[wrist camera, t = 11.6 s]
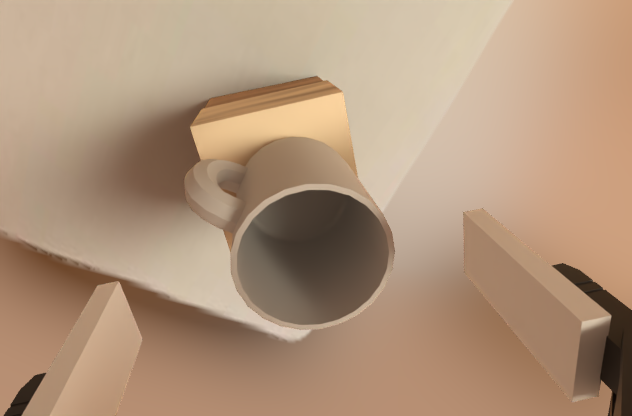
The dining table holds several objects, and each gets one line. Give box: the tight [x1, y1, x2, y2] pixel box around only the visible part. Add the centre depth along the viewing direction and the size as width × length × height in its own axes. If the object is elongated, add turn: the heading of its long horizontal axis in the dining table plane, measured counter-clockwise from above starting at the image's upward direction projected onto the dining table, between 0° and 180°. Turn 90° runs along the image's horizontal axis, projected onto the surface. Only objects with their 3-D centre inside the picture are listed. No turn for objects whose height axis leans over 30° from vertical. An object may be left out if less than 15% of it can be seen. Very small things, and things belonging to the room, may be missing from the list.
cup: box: [184, 137, 395, 330], centre depth 23 cm, size 7×10×9 cm
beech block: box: [190, 80, 358, 252], centre depth 30 cm, size 9×9×6 cm
